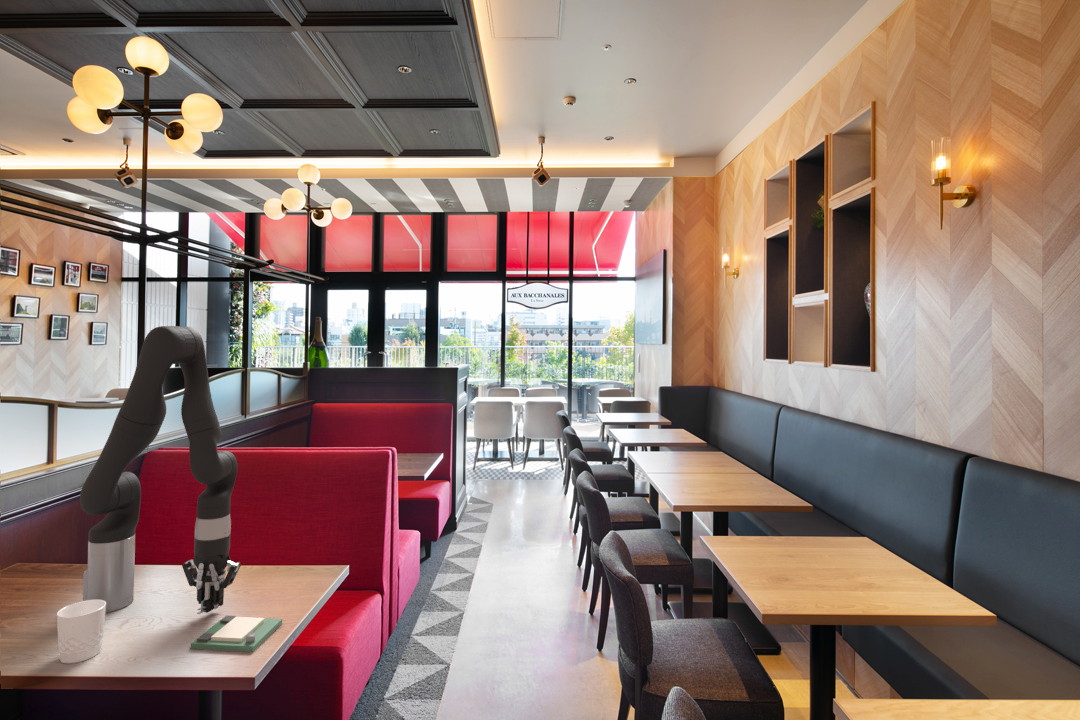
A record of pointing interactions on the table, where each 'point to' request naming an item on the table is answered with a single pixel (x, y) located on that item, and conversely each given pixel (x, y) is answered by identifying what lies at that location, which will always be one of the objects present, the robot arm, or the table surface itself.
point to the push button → (209, 594)
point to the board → (237, 634)
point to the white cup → (80, 630)
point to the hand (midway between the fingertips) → (210, 602)
